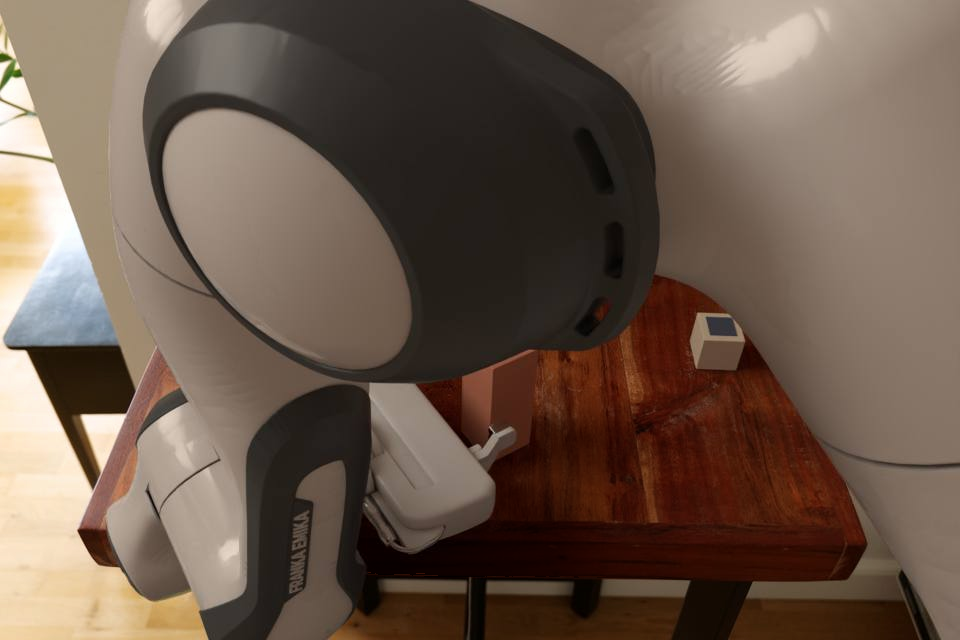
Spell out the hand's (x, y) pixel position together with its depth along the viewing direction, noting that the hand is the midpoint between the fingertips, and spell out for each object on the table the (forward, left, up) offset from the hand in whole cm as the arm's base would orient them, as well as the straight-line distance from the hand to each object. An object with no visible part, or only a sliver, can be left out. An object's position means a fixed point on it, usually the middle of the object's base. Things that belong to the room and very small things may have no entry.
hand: (479, 393), depth 72 cm
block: (-3, -26, -7) cm, 28 cm away
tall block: (0, -2, -7) cm, 7 cm away
